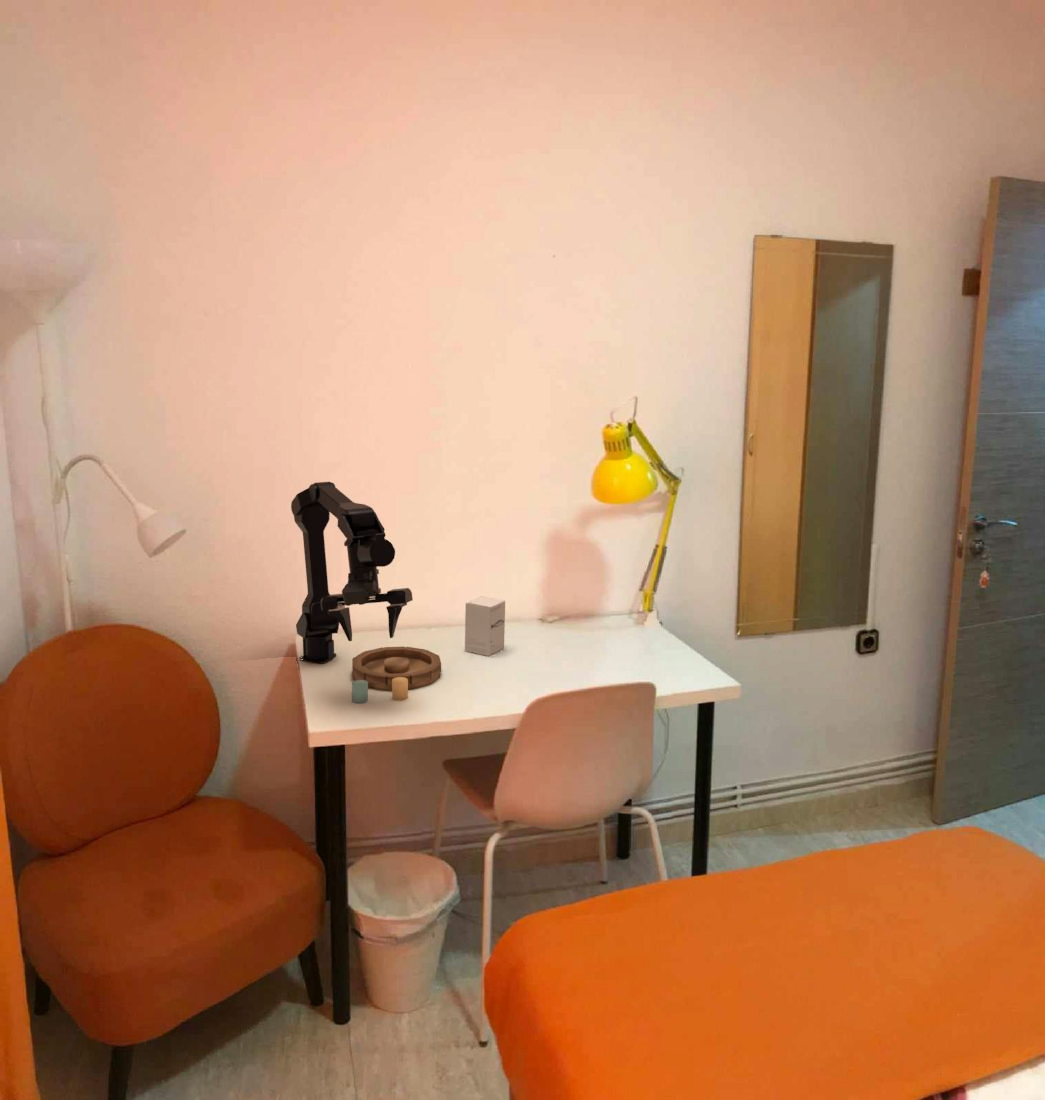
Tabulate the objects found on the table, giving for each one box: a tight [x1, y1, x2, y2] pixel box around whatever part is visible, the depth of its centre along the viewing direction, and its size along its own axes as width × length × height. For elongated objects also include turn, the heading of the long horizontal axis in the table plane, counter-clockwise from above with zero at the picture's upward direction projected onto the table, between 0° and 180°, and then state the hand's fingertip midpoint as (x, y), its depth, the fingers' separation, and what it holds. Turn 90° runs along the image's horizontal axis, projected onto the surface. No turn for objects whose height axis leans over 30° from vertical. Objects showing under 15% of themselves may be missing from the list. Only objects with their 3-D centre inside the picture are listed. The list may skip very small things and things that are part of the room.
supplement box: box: [464, 596, 506, 657], centre depth 245 cm, size 7×7×13 cm
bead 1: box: [351, 680, 369, 704], centre depth 212 cm, size 3×3×4 cm
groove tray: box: [351, 646, 442, 691], centre depth 228 cm, size 20×20×3 cm
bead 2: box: [391, 677, 409, 701], centre depth 215 cm, size 3×3×4 cm
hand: (370, 639), depth 211 cm, fingers open, 9 cm apart
